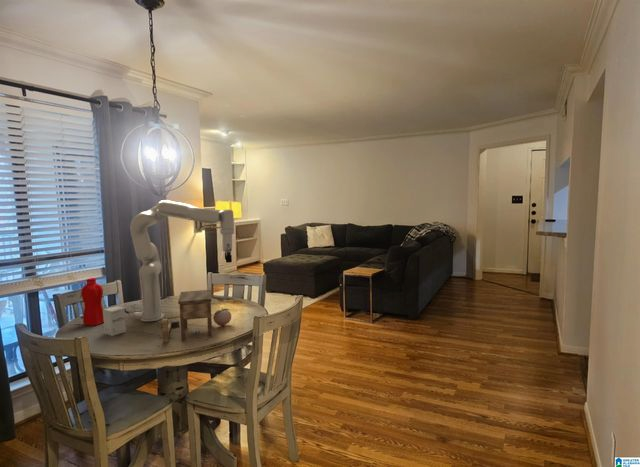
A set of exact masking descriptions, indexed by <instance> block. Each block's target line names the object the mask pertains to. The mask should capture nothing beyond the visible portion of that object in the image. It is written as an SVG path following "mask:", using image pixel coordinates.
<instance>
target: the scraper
mask: <svg viewBox="0 0 640 467" xmlns="http://www.w3.org/2000/svg"><path fill="white" fill-rule="evenodd" d="M178 327H180V321H179V320H177V321H169V319H168V317H166V318H165V317H164V318H162V319H161V322H160V329H162V331H161V332H162V333H161V334H162V344H166V343H170V342H169V341H170V338H169V337H170V332H171V329H172V328H178Z"/></svg>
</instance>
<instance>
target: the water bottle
mask: <svg viewBox="0 0 640 467" xmlns="http://www.w3.org/2000/svg"><path fill="white" fill-rule="evenodd" d="M103 294H104V289H103V287H102V285H101V284H99V283H97V279H96V277H90V278H87V279H86V284H85V285H84V286H83V287H82V288H81V291H80V296H81V299H82V301H83V304H84V305H83V306H84V308H83V309H84V310H83V316H82V321H83V325H84V326H90V327H94V325H96V326H99V325H100V324H104V323H103V322H104V319H103V310H104V308H103V306H102V301H103V300H102V299H103Z"/></svg>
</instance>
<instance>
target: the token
mask: <svg viewBox="0 0 640 467" xmlns="http://www.w3.org/2000/svg"><path fill="white" fill-rule="evenodd" d="M200 333H201V330H198V329H195V330H192V331H190V335H192V336H194V335H199V334H200Z"/></svg>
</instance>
